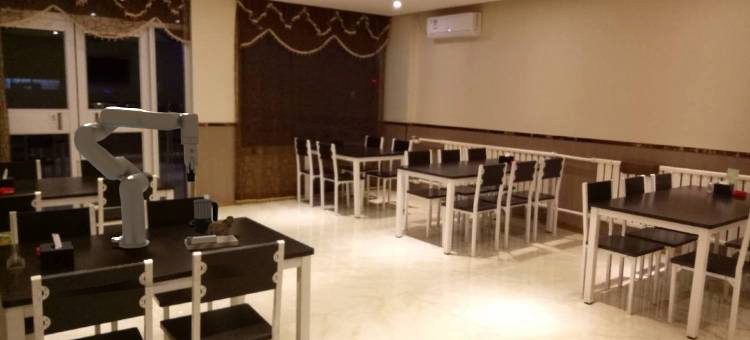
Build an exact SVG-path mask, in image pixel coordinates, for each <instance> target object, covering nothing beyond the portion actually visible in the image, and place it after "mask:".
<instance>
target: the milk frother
mask: <svg viewBox="0 0 750 340" xmlns="http://www.w3.org/2000/svg"><path fill="white" fill-rule="evenodd" d="M192 202H193V211H194V216H193V218H194V219H191V220H190V221H189V223H188V224H189V226H191V227H194V228H193V229H194V231H198V232H205V231H206V232H208V227H209V225H210V224H211V223H213V222H217V223H218V220H219V205H218V203H217V202H216V201H213V200H212V199H209V198H202V199H201V198H198V199H194V200H193V201H192Z"/></svg>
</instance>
